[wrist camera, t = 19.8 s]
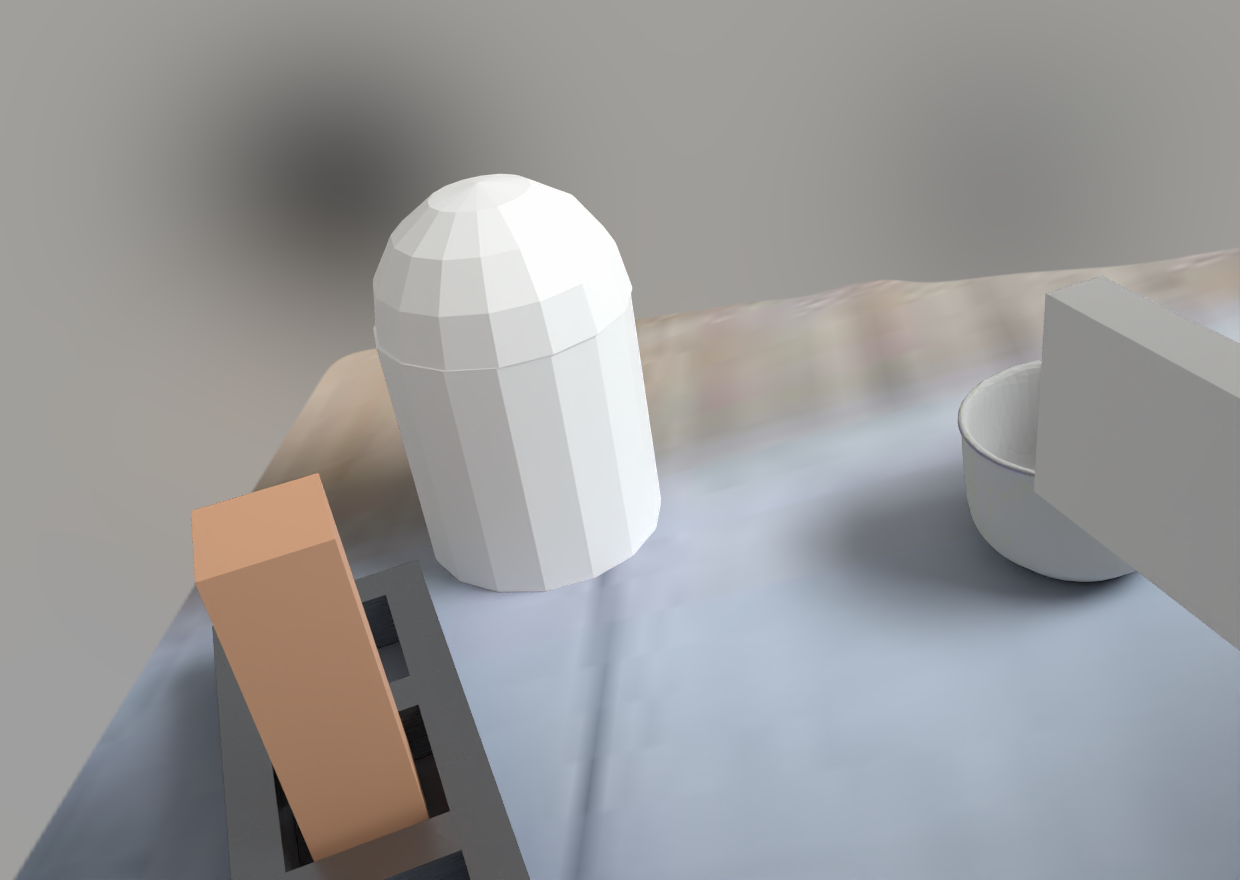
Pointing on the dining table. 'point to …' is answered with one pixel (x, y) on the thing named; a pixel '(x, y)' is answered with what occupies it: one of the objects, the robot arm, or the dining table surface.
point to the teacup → (1021, 483)
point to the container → (517, 384)
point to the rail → (433, 723)
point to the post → (307, 663)
